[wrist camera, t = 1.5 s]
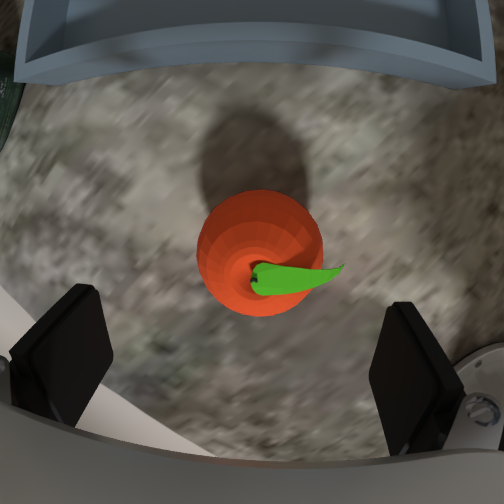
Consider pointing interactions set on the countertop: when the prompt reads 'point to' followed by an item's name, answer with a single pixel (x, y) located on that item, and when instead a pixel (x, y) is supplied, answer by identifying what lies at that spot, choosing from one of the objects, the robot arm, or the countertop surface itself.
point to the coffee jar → (8, 95)
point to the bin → (257, 37)
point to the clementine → (261, 253)
